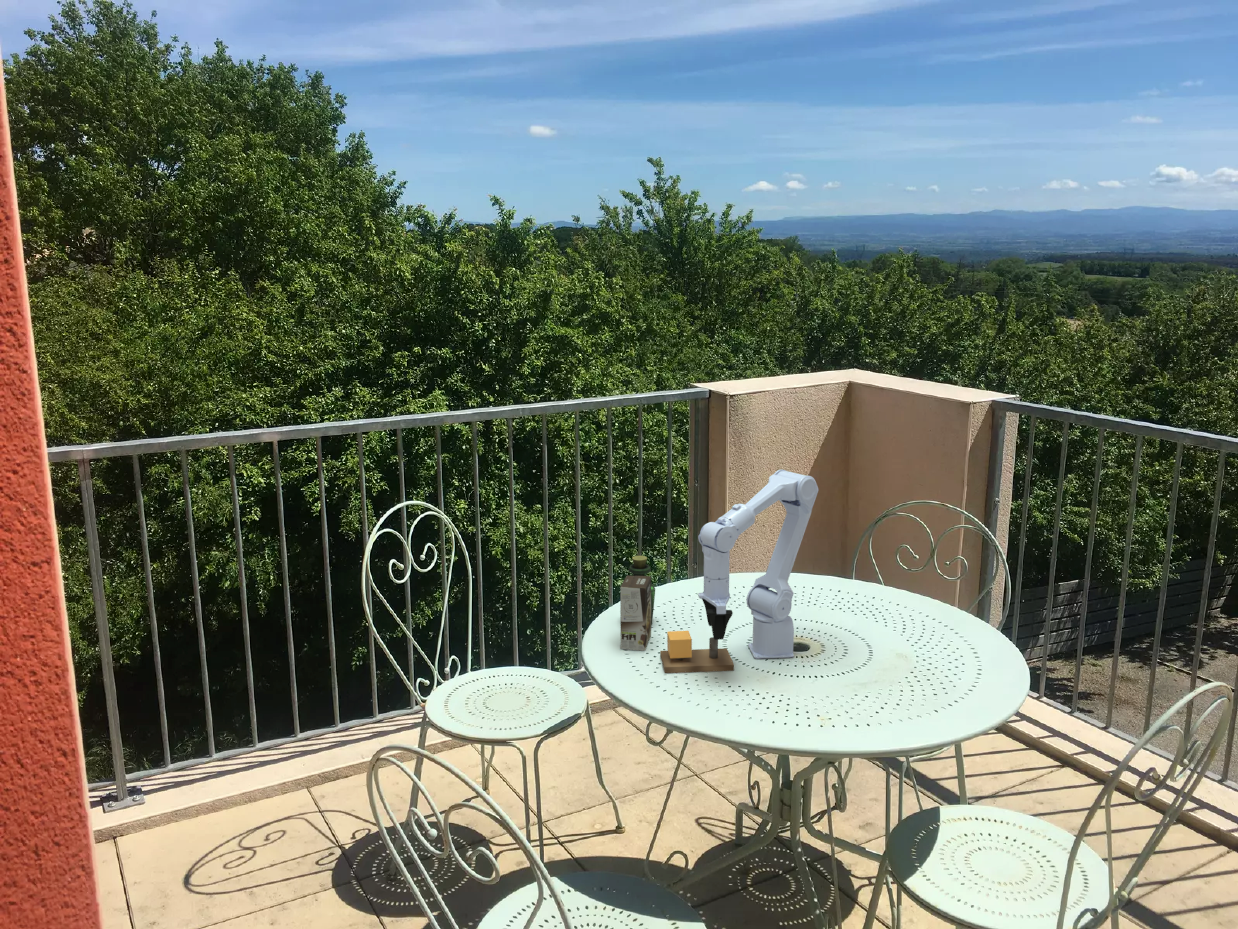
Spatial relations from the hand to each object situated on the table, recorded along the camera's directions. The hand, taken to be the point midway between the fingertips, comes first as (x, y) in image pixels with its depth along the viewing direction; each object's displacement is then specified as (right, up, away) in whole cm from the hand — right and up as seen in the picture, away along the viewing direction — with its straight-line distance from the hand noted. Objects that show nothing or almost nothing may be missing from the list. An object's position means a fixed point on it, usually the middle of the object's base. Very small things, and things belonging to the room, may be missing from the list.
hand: (715, 632), depth 201 cm
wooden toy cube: (-8, -6, +5) cm, 11 cm away
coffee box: (-18, -6, +17) cm, 26 cm away
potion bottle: (-17, -4, +29) cm, 34 cm away
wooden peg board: (-4, -8, +5) cm, 11 cm away
